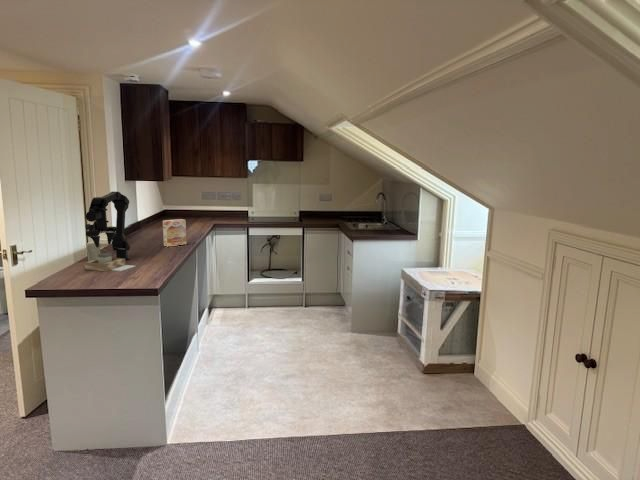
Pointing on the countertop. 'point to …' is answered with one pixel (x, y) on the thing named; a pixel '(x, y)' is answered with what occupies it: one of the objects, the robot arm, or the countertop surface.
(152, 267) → the countertop surface
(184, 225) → the coffeecake box
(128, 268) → the grey mat
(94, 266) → the wooden frame
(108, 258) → the sage box
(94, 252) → the skincare box
